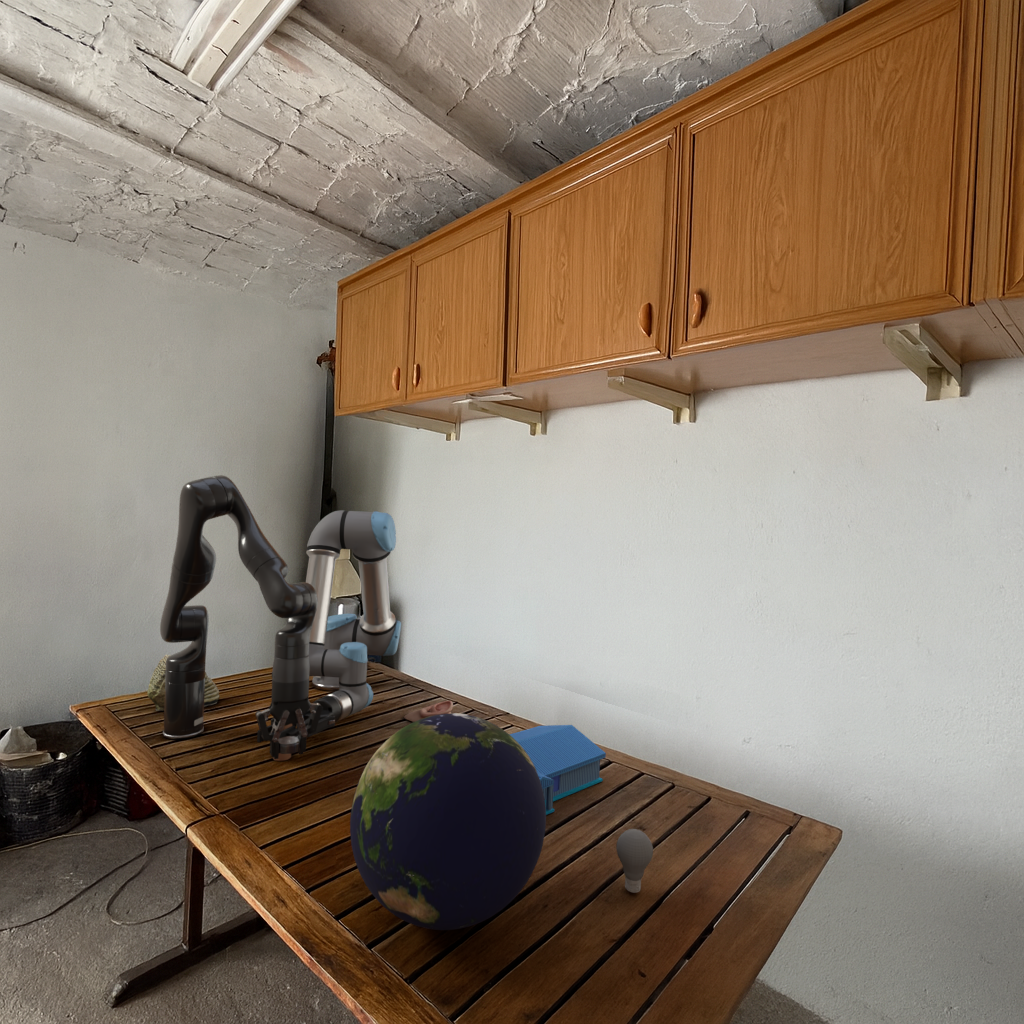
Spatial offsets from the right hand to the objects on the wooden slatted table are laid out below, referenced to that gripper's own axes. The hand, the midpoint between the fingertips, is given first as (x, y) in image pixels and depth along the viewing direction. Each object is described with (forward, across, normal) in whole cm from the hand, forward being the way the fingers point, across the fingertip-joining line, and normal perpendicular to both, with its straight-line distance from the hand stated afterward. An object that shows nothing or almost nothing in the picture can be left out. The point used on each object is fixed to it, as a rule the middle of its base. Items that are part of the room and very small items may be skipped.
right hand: (266, 738), depth 148 cm
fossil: (-21, +50, -6) cm, 54 cm away
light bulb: (+11, -88, -6) cm, 89 cm away
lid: (+8, -13, +4) cm, 15 cm away
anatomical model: (-46, -17, -6) cm, 50 cm away
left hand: (+8, -13, +1) cm, 15 cm away
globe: (+28, -62, -6) cm, 68 cm away
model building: (-15, -57, -6) cm, 59 cm away
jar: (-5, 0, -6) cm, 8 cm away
